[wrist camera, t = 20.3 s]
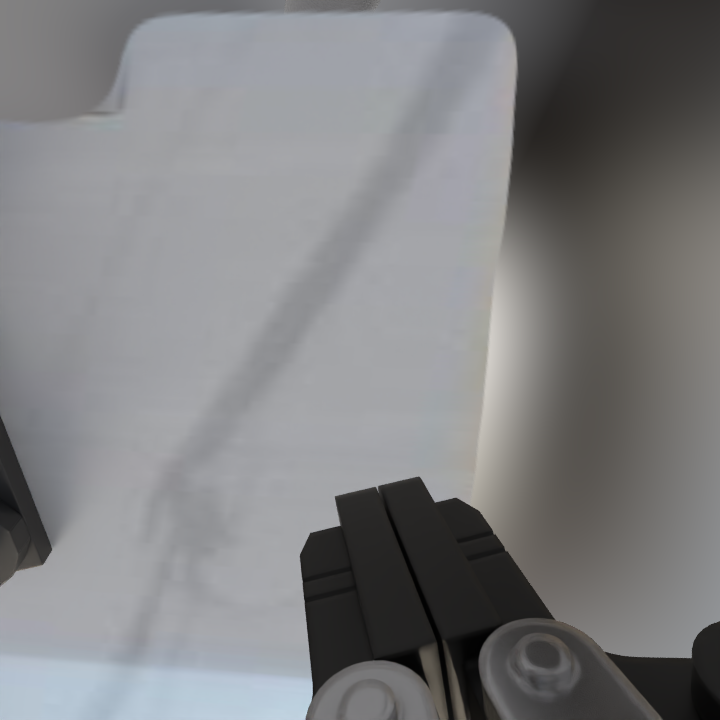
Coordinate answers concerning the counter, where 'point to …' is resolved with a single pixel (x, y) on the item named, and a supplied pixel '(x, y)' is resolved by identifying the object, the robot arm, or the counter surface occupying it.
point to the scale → (18, 518)
